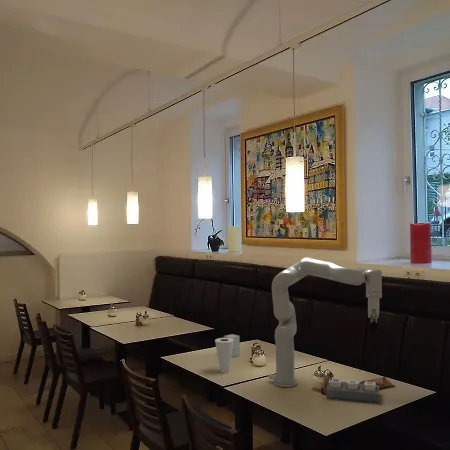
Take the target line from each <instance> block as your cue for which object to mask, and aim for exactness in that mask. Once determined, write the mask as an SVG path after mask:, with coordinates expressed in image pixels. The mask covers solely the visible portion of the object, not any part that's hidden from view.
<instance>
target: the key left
mask: <svg viewBox="0 0 450 450" xmlns="http://www.w3.org/2000/svg"><path fill="white" fill-rule="evenodd" d="M331 379H332V380H331ZM331 379H330V380H329V381H330V387H333V388H342V382H343V380H342V379H340V378H331Z"/></svg>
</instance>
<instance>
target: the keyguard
mask: <svg viewBox="0 0 450 450" xmlns="http://www.w3.org/2000/svg"><path fill="white" fill-rule="evenodd" d="M347 382H348V381H342V388H333V387H329V386H328V385H327V386H326V390H325V396H326V397H325V399H326V398H330V399H329V400H335V399H339V400H338V401H346V400H347V402H356V403H357V402H359V403H367V404H368V403H369V404H379V402H380V390H379V385H376V391H368V390H364V384H361V383H360V382H358V383H359V389H358V390H356V389H347Z"/></svg>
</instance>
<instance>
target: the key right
mask: <svg viewBox="0 0 450 450" xmlns="http://www.w3.org/2000/svg"><path fill="white" fill-rule="evenodd" d="M364 381H365V384H364V390H368V391H376V382H367V381H368V380H364Z"/></svg>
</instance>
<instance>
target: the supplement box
mask: <svg viewBox="0 0 450 450" xmlns="http://www.w3.org/2000/svg"><path fill="white" fill-rule="evenodd" d="M223 338H231V339H233V340H234V342H233V349H232V355H231V359H232V358H236V357H240V356H241V349H240V346H241V345H240V343H241V341H240V338H241V337H240V335H237V334H233V333H231V334H227V335H223Z"/></svg>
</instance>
